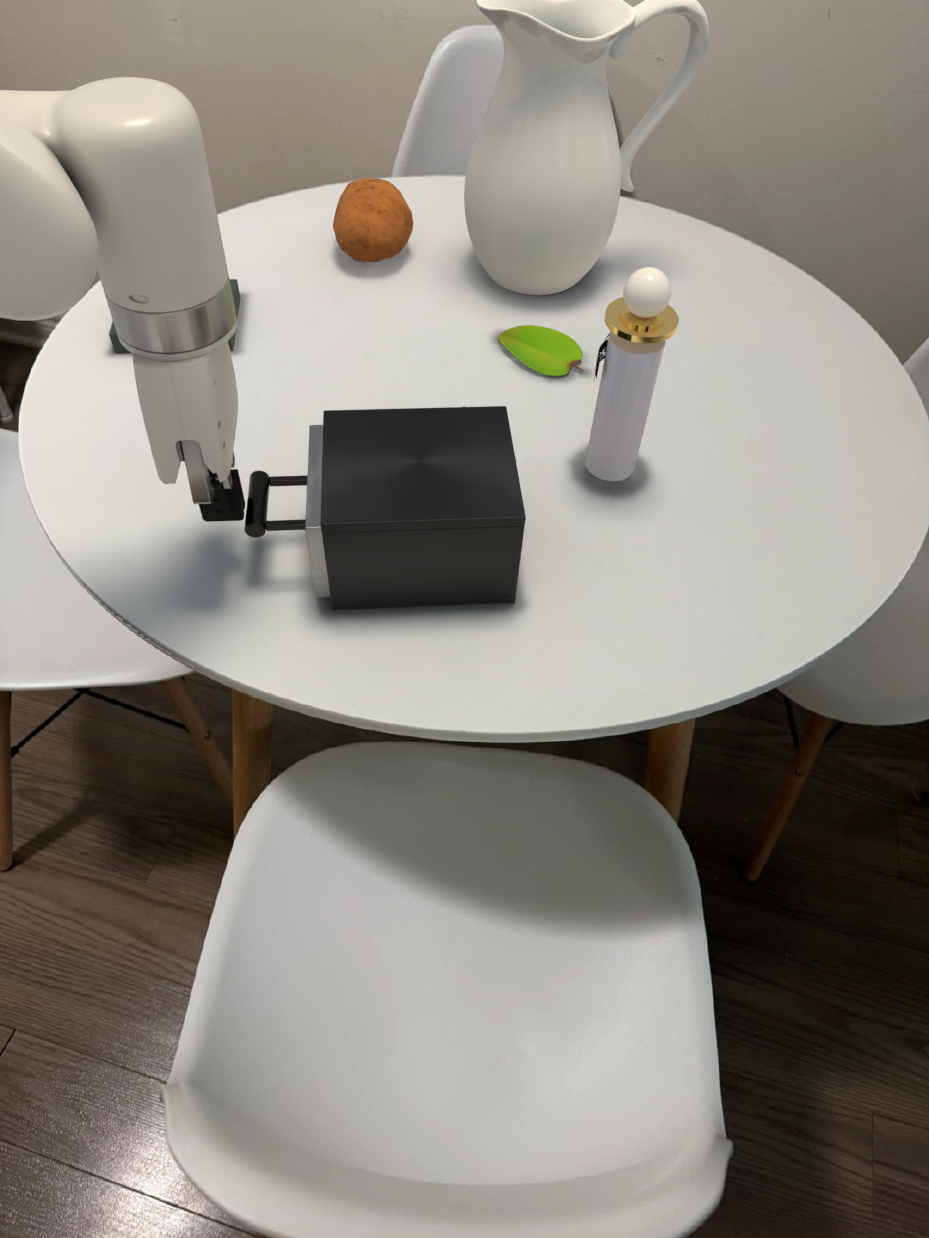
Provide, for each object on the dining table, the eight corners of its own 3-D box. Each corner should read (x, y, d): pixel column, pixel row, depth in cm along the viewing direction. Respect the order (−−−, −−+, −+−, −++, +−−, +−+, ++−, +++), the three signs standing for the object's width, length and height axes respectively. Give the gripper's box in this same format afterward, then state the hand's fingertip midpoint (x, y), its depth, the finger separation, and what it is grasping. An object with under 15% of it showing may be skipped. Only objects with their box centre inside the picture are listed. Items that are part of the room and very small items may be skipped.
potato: (419, 233, 107) (419, 170, 102) (405, 282, 100) (404, 218, 95) (345, 226, 108) (340, 163, 102) (326, 274, 101) (320, 210, 95)
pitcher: (473, 315, 97) (488, 24, 75) (451, 237, 107) (458, -39, 85) (681, 303, 100) (753, 21, 78) (640, 228, 110) (693, -40, 88)
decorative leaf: (523, 387, 90) (524, 380, 89) (493, 335, 94) (493, 328, 94) (592, 370, 91) (593, 362, 90) (559, 319, 96) (559, 312, 95)
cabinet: (332, 610, 70) (320, 524, 63) (333, 499, 78) (323, 410, 70) (515, 602, 71) (525, 517, 64) (498, 493, 79) (506, 405, 72)
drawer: (252, 600, 69) (234, 530, 63) (261, 498, 77) (246, 426, 70) (485, 590, 71) (491, 521, 65) (473, 491, 78) (477, 420, 72)
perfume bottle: (650, 466, 82) (703, 266, 67) (621, 500, 79) (669, 300, 64) (596, 442, 84) (635, 242, 68) (566, 474, 81) (600, 274, 65)
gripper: (130, 245, 60) (187, 453, 74) (90, 380, 51) (164, 587, 65) (242, 245, 60) (277, 450, 75) (222, 378, 51) (267, 583, 65)
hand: (224, 513), depth 70 cm, fingers closed
